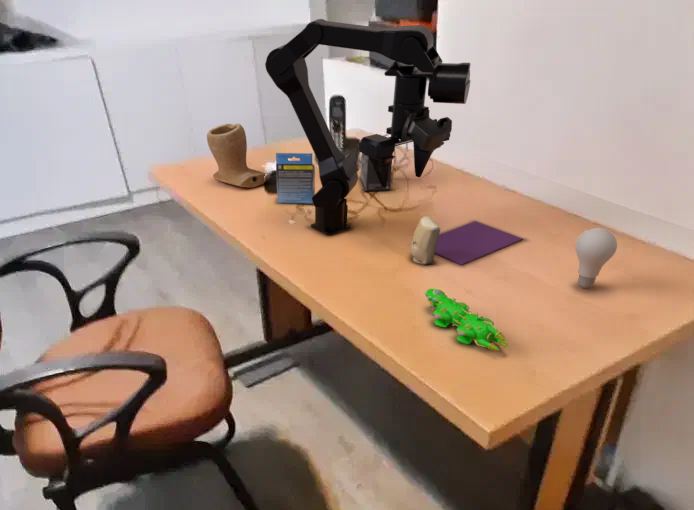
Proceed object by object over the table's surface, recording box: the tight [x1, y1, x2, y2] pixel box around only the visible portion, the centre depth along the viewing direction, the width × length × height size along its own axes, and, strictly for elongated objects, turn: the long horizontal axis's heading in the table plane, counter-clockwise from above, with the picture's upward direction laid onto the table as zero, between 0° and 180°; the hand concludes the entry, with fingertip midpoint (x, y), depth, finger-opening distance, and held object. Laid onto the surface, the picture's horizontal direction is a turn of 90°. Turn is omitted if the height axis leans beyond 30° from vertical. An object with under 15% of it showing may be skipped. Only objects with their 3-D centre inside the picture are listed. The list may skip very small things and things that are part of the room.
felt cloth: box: [434, 220, 524, 266], centre depth 128 cm, size 18×12×1 cm, turn 122°
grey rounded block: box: [409, 216, 441, 266], centre depth 120 cm, size 6×5×8 cm
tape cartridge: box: [275, 152, 316, 205], centre depth 150 cm, size 9×4×12 cm, turn 76°
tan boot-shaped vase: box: [206, 123, 267, 188], centre depth 162 cm, size 15×12×15 cm
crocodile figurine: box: [424, 288, 509, 352], centre depth 100 cm, size 7×18×4 cm, turn 24°
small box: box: [359, 153, 394, 192], centre depth 156 cm, size 11×6×10 cm, turn 179°
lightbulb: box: [574, 227, 618, 289], centre depth 107 cm, size 6×6×11 cm
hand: (401, 181), depth 126 cm, fingers open, 9 cm apart
